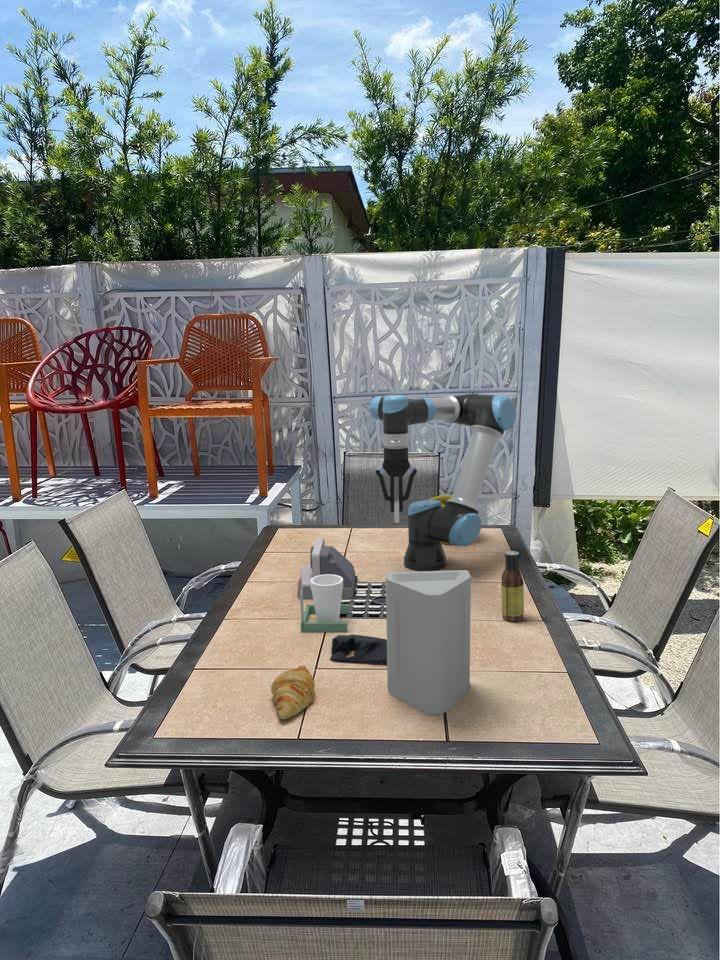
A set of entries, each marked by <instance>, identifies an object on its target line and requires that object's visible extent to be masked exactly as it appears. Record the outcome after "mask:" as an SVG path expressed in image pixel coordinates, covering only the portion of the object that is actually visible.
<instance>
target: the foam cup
mask: <svg viewBox="0 0 720 960" xmlns="http://www.w3.org/2000/svg"><path fill="white" fill-rule="evenodd" d="M310 583H311V590H312V595H313V599H312V601H313V605H314V607H315V612H316V614H315V616H316V617H315V618H316V622H340V615H341V614H340V607H341V604H342V599H341V597H342V589H343V578H342V577H341V576H338V575H331V574H325V575H319V576H315V577H313V578H312V579H311V581H310Z"/></svg>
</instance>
